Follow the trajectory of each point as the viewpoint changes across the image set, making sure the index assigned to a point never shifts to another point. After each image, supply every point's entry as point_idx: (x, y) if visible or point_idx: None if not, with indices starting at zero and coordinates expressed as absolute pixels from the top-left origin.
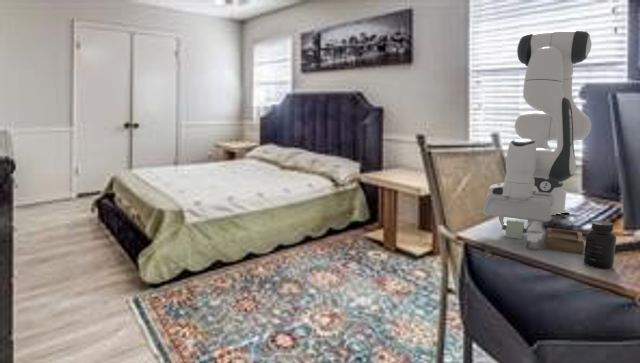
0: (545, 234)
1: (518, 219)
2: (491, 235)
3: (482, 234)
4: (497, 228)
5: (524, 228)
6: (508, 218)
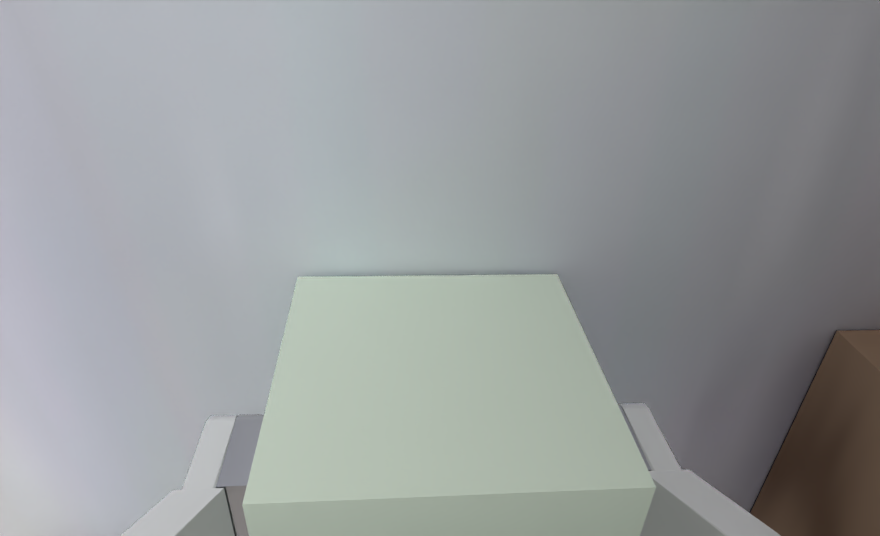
0: (867, 478)
1: (517, 500)
2: (135, 471)
3: (12, 484)
4: (67, 72)
5: None
6: (265, 518)
